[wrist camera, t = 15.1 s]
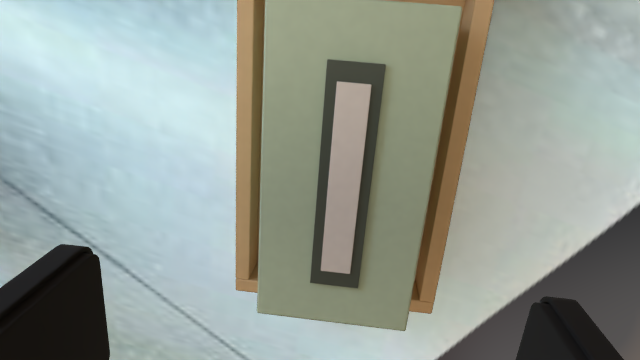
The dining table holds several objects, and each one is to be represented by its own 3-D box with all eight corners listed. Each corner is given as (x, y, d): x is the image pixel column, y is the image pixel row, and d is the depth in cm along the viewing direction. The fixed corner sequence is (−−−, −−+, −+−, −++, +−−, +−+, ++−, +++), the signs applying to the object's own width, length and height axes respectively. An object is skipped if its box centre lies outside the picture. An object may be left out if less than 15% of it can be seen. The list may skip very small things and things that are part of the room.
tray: (425, 285, 27) (431, 314, 24) (247, 264, 27) (235, 290, 25) (487, -44, 20) (505, -52, 18) (252, -60, 21) (237, -70, 18)
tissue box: (432, 9, 21) (465, 6, 14) (395, 250, 25) (406, 336, 18) (295, -1, 21) (263, -10, 14) (284, 238, 26) (255, 317, 19)
